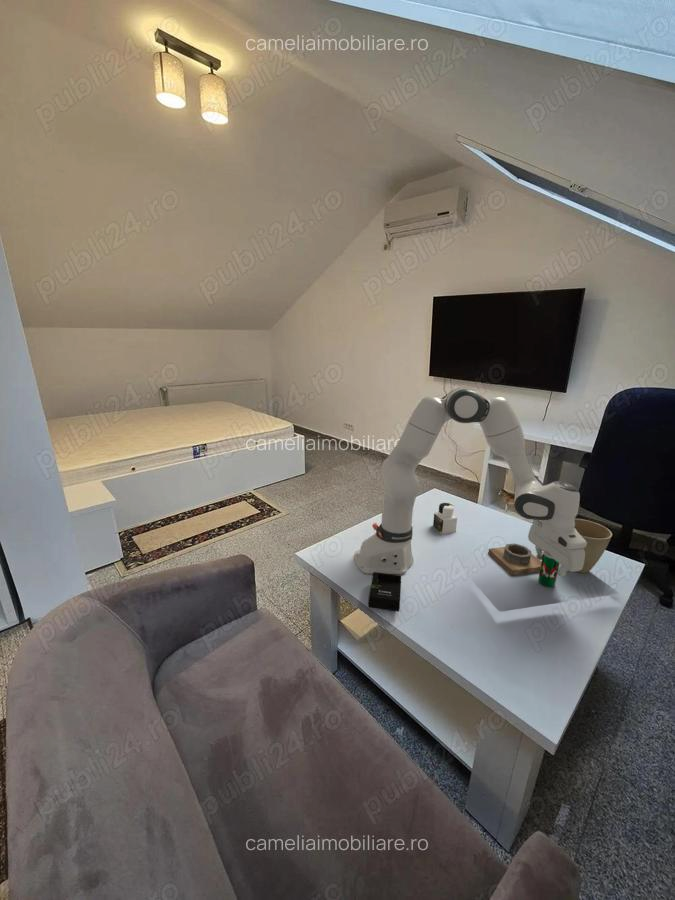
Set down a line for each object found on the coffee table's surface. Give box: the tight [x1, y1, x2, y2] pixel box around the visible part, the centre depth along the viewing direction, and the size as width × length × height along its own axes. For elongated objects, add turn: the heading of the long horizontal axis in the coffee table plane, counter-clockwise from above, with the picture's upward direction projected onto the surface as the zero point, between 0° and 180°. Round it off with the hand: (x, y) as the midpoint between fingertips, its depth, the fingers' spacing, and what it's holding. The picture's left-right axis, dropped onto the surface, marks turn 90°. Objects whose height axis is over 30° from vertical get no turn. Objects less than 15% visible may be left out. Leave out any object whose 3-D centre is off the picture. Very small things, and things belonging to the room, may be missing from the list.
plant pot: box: [575, 518, 613, 574], centre depth 129 cm, size 15×15×16 cm
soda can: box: [538, 551, 561, 588], centre depth 121 cm, size 5×5×12 cm
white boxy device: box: [432, 502, 458, 535], centre depth 155 cm, size 7×7×12 cm
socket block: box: [487, 543, 542, 576], centre depth 134 cm, size 14×14×5 cm
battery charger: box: [368, 572, 402, 612], centre depth 116 cm, size 13×10×4 cm
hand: (550, 566), depth 121 cm, fingers open, 8 cm apart
